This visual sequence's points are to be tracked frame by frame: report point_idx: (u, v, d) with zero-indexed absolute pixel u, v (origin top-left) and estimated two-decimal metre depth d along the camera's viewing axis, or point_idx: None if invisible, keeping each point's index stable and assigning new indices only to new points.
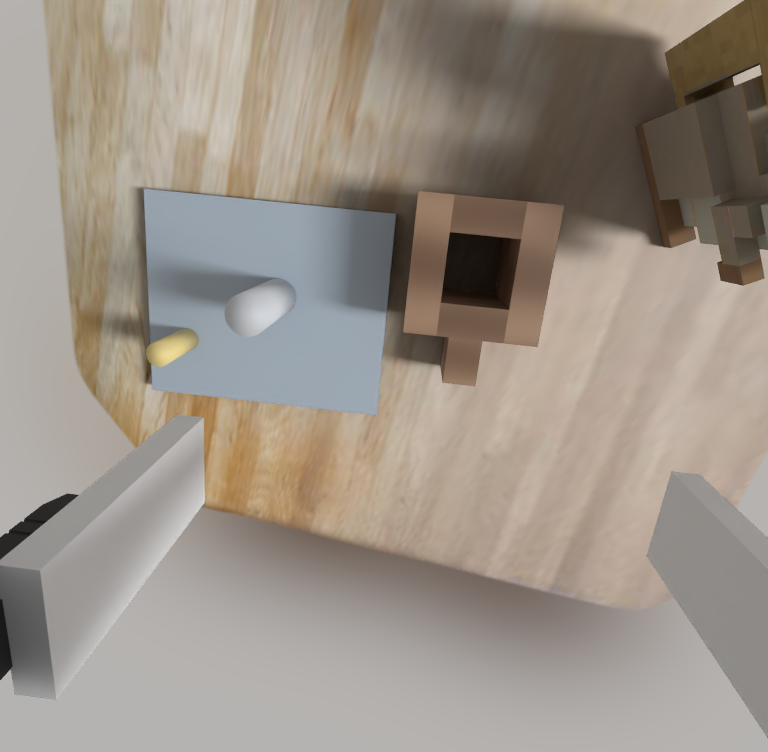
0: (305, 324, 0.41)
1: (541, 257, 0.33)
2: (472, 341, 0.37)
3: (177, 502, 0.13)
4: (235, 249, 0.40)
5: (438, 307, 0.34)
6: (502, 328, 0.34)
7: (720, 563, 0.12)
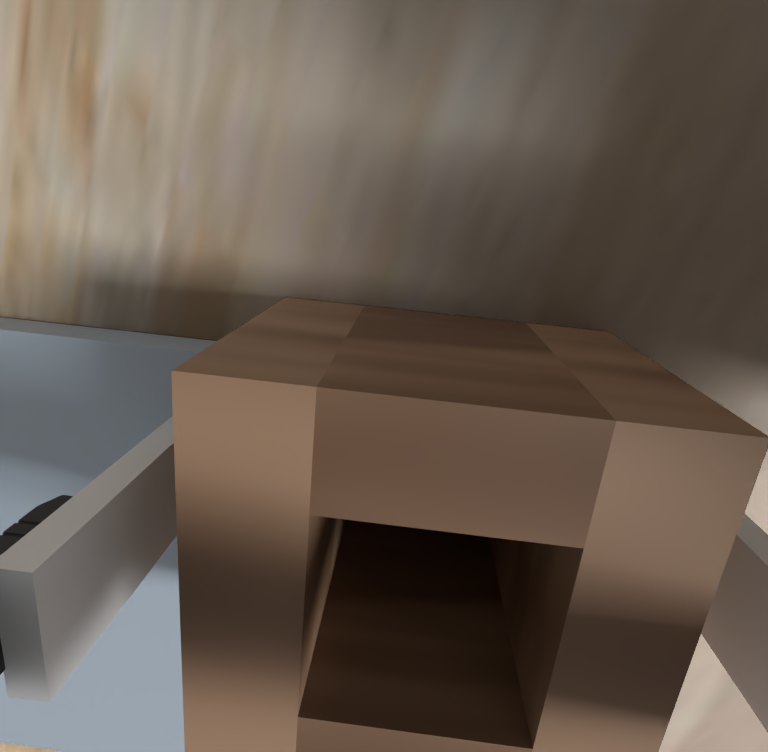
0: None
1: (656, 606, 0.09)
2: None
3: (173, 503, 0.13)
4: None
5: (291, 729, 0.10)
6: None
7: (725, 565, 0.11)
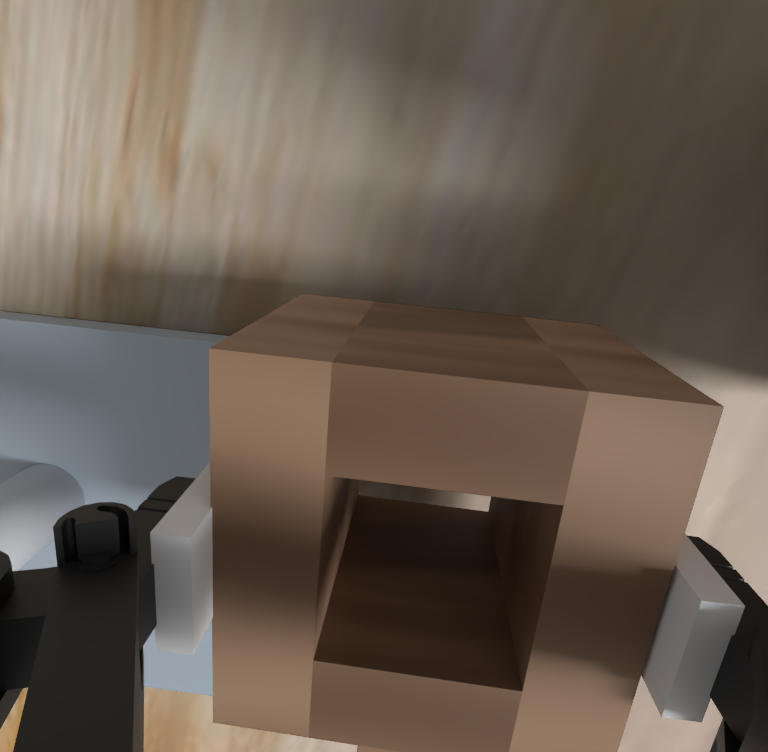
0: None
1: (629, 559, 0.10)
2: None
3: None
4: None
5: (307, 671, 0.11)
6: (501, 734, 0.11)
7: None
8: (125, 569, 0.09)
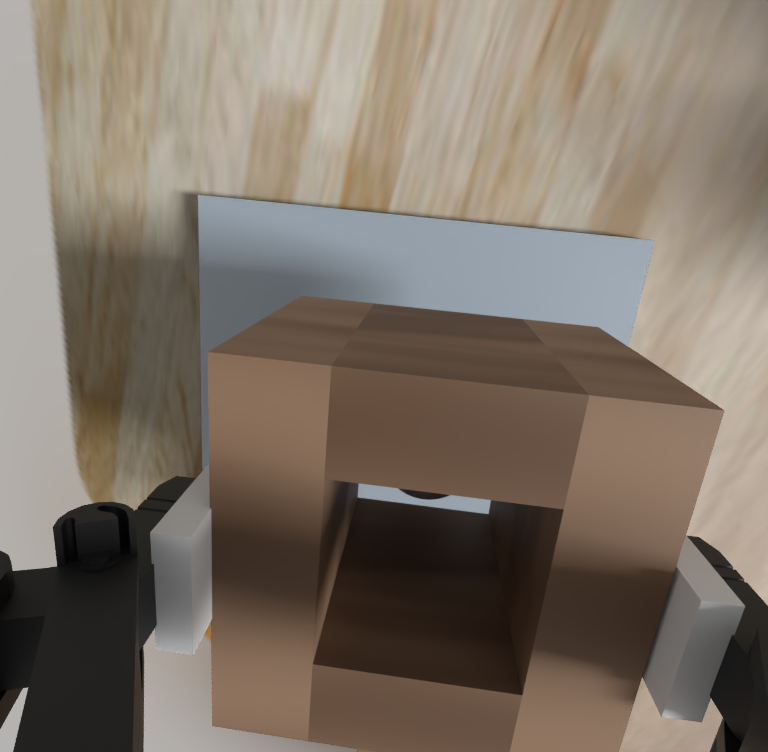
0: None
1: (629, 563, 0.10)
2: None
3: None
4: (356, 300, 0.23)
5: (307, 675, 0.11)
6: (501, 738, 0.11)
7: None
8: (125, 569, 0.09)
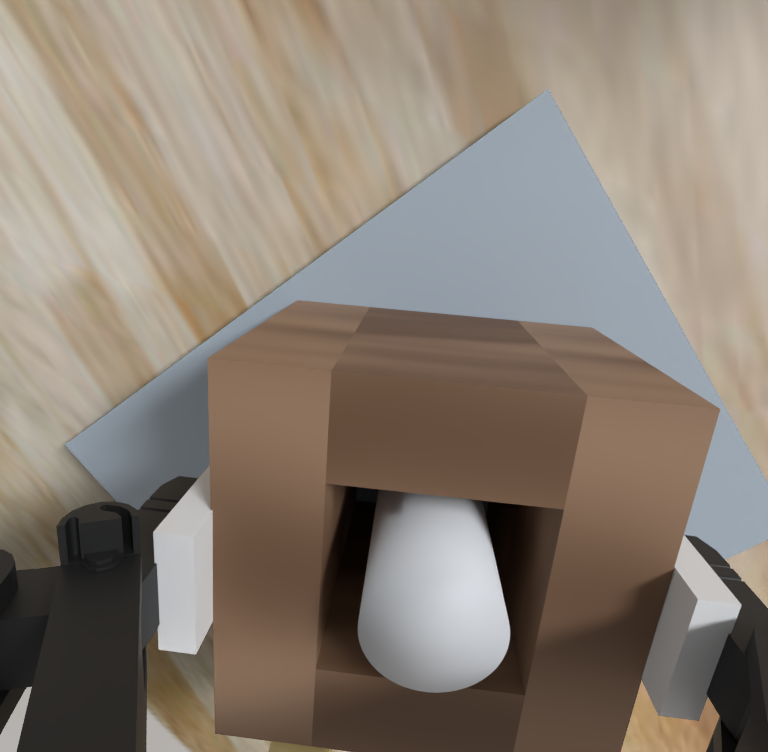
0: None
1: (629, 561, 0.10)
2: None
3: None
4: None
5: (310, 680, 0.11)
6: (505, 738, 0.11)
7: None
8: (128, 569, 0.09)
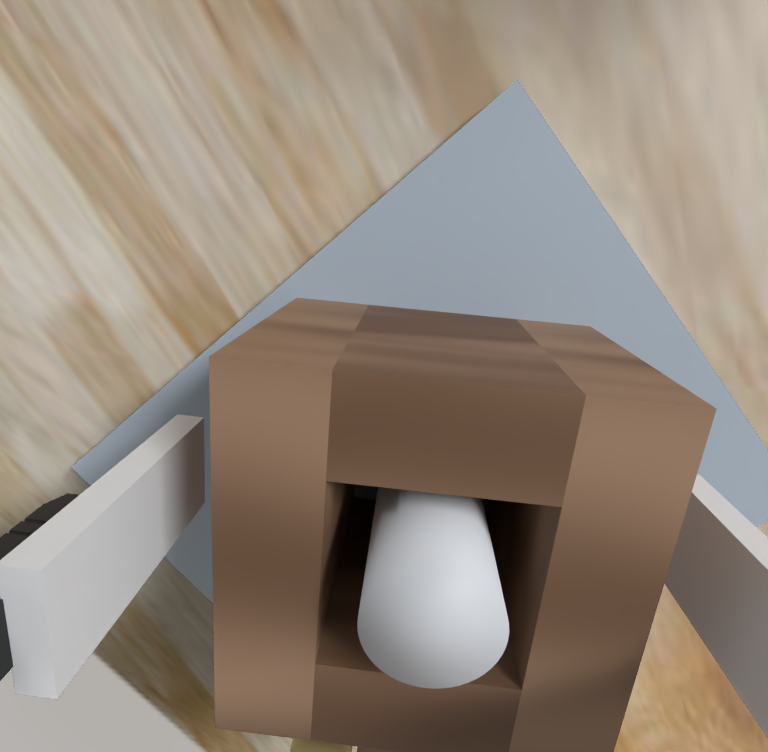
0: None
1: (626, 559, 0.10)
2: None
3: (177, 502, 0.13)
4: None
5: (309, 675, 0.11)
6: (502, 732, 0.12)
7: (719, 562, 0.12)
8: None
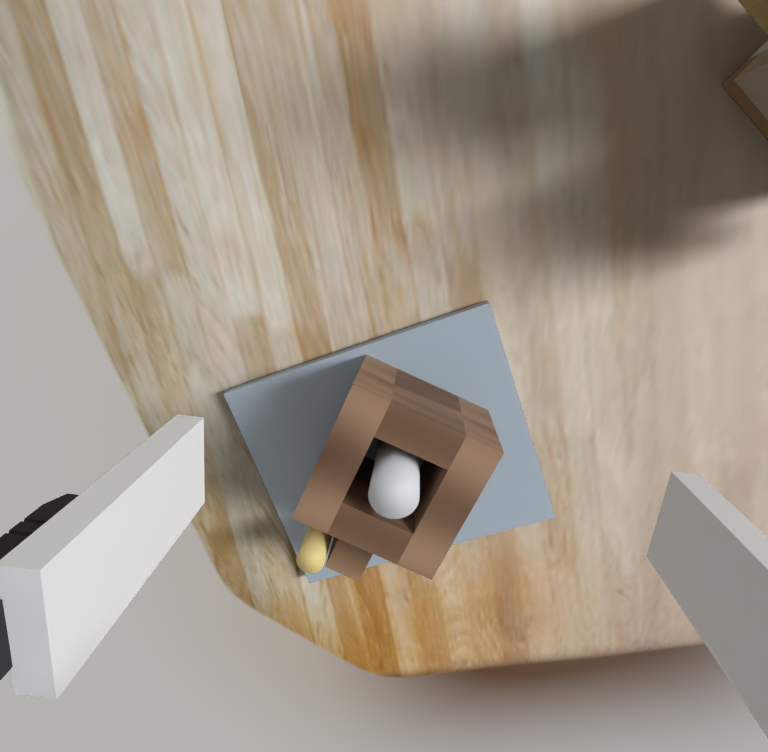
0: None
1: (463, 494, 0.29)
2: None
3: (177, 502, 0.13)
4: (336, 412, 0.36)
5: (338, 506, 0.30)
6: (400, 549, 0.30)
7: (720, 563, 0.12)
8: None
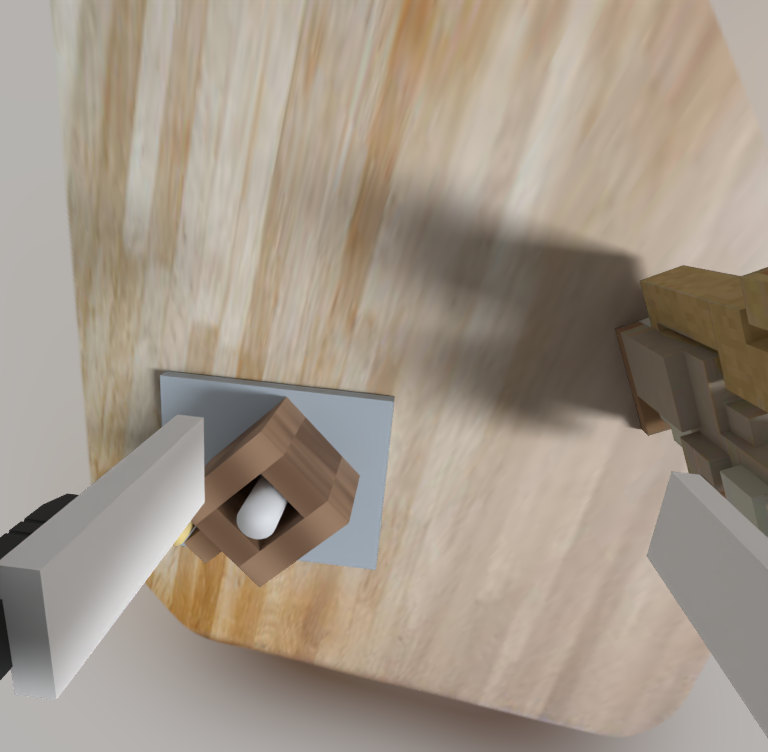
0: None
1: (308, 539, 0.37)
2: None
3: (177, 502, 0.13)
4: (245, 428, 0.43)
5: (212, 510, 0.37)
6: (245, 558, 0.38)
7: (719, 562, 0.12)
8: None
